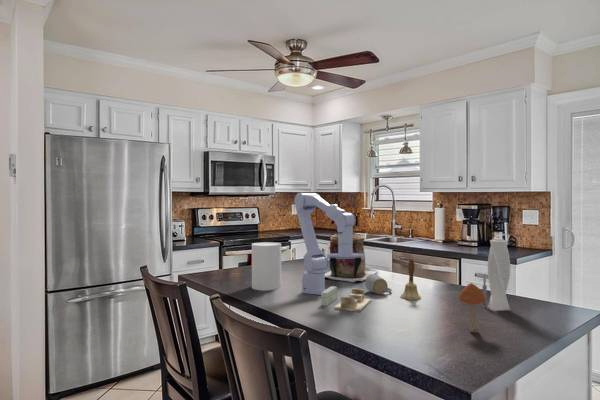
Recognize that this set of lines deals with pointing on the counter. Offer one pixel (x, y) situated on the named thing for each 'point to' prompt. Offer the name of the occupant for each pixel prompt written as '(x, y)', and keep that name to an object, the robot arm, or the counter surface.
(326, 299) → the glasses case
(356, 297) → the display stand
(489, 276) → the white twisted vase
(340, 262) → the cookie jar
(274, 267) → the canister
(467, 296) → the mushroom
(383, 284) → the ceramic mug
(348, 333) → the counter surface
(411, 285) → the hand bell
